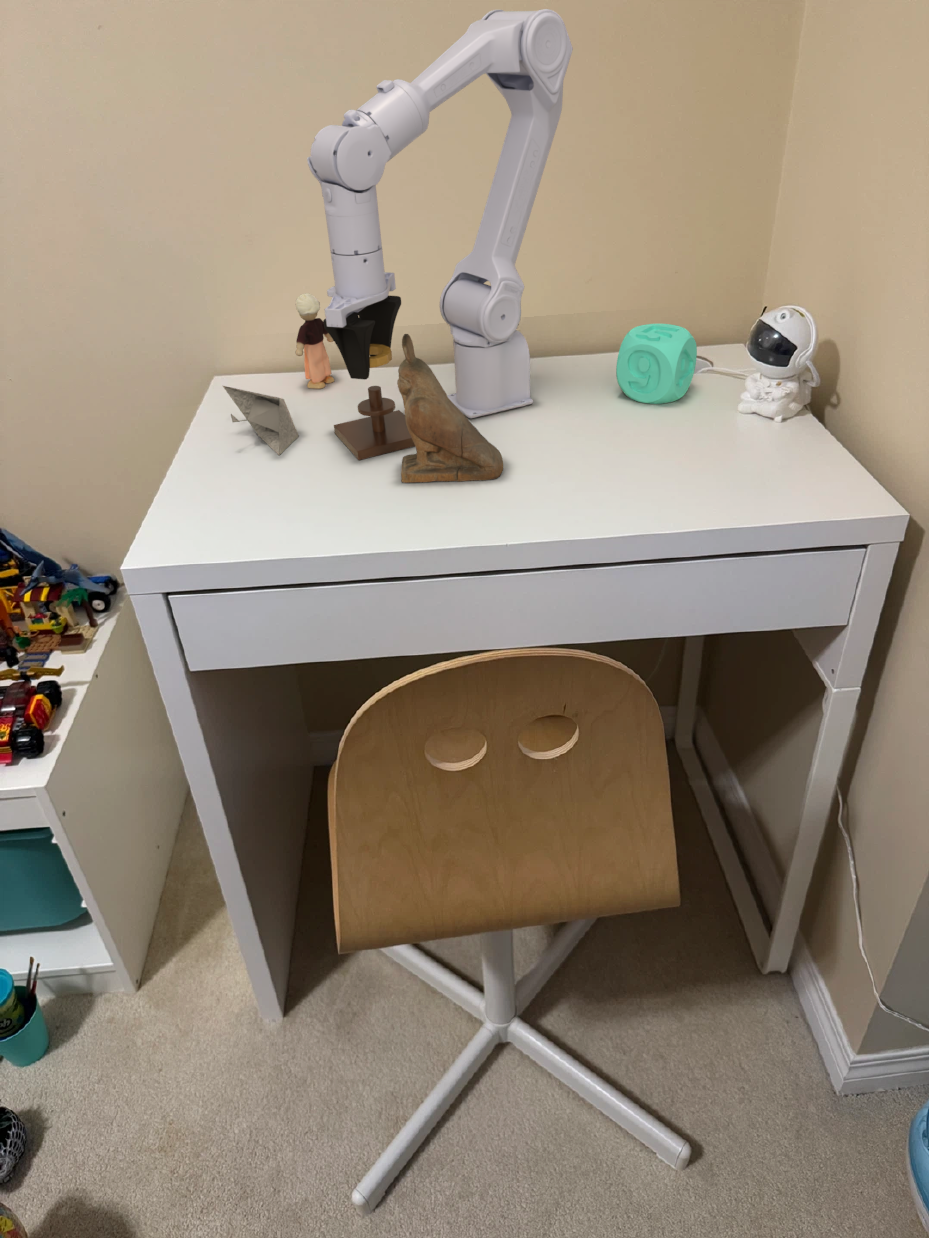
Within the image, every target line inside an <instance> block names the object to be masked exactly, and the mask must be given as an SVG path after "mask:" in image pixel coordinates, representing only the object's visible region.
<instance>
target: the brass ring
mask: <svg viewBox="0 0 929 1238" xmlns="http://www.w3.org/2000/svg"><path fill="white" fill-rule="evenodd" d="M369 354H370V355H376V356H371V357H370V369H372V368H378V367H381V366H382V367H383V366H385V365H387V364H389V363H390V362H391V361H392V360H393V353H392V349H390V347H388V346H385V345H380V344H370V351H369Z"/></svg>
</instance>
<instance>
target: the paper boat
mask: <svg viewBox="0 0 929 1238" xmlns="http://www.w3.org/2000/svg"><path fill="white" fill-rule="evenodd" d="M222 387H223V389H224V390H225V392H226V393H227V394H228V396H229V397H230V399H231V400H232V401H233V403H234V404H235V405H236V407H237V408H238V410H239V411H240V413H241V414H242V415H243V416H244V418H245V419H241V420H239V419H238V418H237V417H236V416H234V414H232V413H230V417H231V422H232V423H240V422H246V421H247V422H248V424H249V425H250V426H251V427H252V429H253V430H254V431H255V433H256V435H257V436H258V437H259V438H260V439H261V440H262V441H264V442H265V444H267V446H268V447H270V448H271V449H272V451H274V452H275V453H276V454H277V455H278V456H280V455H282V454H283V453H284V451H285V450H287V448H289V447H290V445H292V444H293V443H294V442H295V441H296V440H297V439H298V438H299V437H300V436H299V433H298V431H297V428H296V426H295V423H294V421H293V418H292V415H291V413H290V411H289V407H288V405H287V402H286V400H285V399H284V398H282V397H281V398H280V397H277V396H272V395H267V394H264V393H263V394H262V393H259V392H254V391H250V390H245V389H240V388H235V387H230V386H225V385H222Z"/></svg>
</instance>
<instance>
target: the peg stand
mask: <svg viewBox="0 0 929 1238" xmlns="http://www.w3.org/2000/svg"><path fill="white" fill-rule="evenodd" d="M367 394H368V398H367V399H363V400H362V401H360V402H359V403H358V404H357V412H358V413H359V415H362V416H365V417H363V418H358V419H354V420H348V421H345V422H340V423H337V424H333V430H334V435H335V436H336V437H337V438H338V439H339V440H340V441H341V442H342V443H343V444H344V446H345V447H346V448H347V449H348V450H349V451H350V452H351V454H352V455H353V456H354V458H356V460H357V461H361V460H365V459H369V458H374V457H378V456H382V455H385V454H389V453H394V452H399V451H402V450H405V449H410V448H415V447H416V446H415V444H414V442H413V440H412V437H411V435H410V433H409V431H408V429H407V425H406V421H405V413H404V412H402V411H401V410H400V409H397V410H396V402H395V400H393V399H391V398H389V397H388V398H387V397H383V395H382V387H381V386H380V385H371V386H368V388H367Z"/></svg>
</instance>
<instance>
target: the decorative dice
mask: <svg viewBox="0 0 929 1238" xmlns="http://www.w3.org/2000/svg"><path fill="white" fill-rule="evenodd" d="M697 346H698V345H697V341H696V340H695V338H694V336H693V334H691V333H690V331H689V330H688V329H686V328H685V327H683V326H681V325H676V324H671V323H647V324H641V325H636V326H635V327H633V328H631V329H630V330H629V331H628V332H627V333H626V334H625V336H624V338H623V339H622V342H621V343H620V346H619V350H618V354H617V360H616V368H615V373H616V375H615V376H616V381H617V385H618V386H619V388H620V390H621V391H622V393H624V395H626V396H627V397H628V398H629V399H630V400H632V401H635V402H638V403H643V404H649V405H660V404H661V405H662V404H669V403H673V402H676V401H679V400H681V399H682V398H683V397H684V396H685V395H686V393H687V392H688V390H689V388H690V386H691V384H692V381H693V378H694V374H695V370H696V365H697V357H698V348H697Z"/></svg>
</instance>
